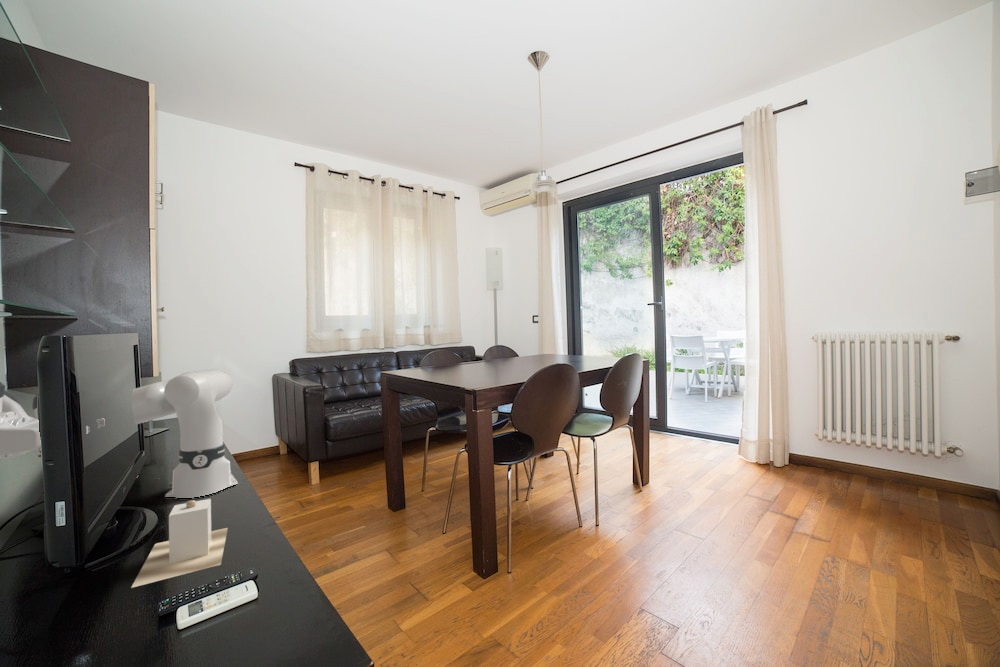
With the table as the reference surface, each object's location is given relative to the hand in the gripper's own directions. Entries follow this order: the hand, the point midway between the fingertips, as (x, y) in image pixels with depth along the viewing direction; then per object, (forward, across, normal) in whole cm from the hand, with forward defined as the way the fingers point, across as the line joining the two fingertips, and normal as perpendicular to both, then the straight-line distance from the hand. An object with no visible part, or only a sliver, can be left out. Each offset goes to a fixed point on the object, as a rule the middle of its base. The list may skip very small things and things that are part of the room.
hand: (96, 426), depth 84 cm
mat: (+15, +4, -30) cm, 34 cm away
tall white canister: (+16, +4, -29) cm, 34 cm away
